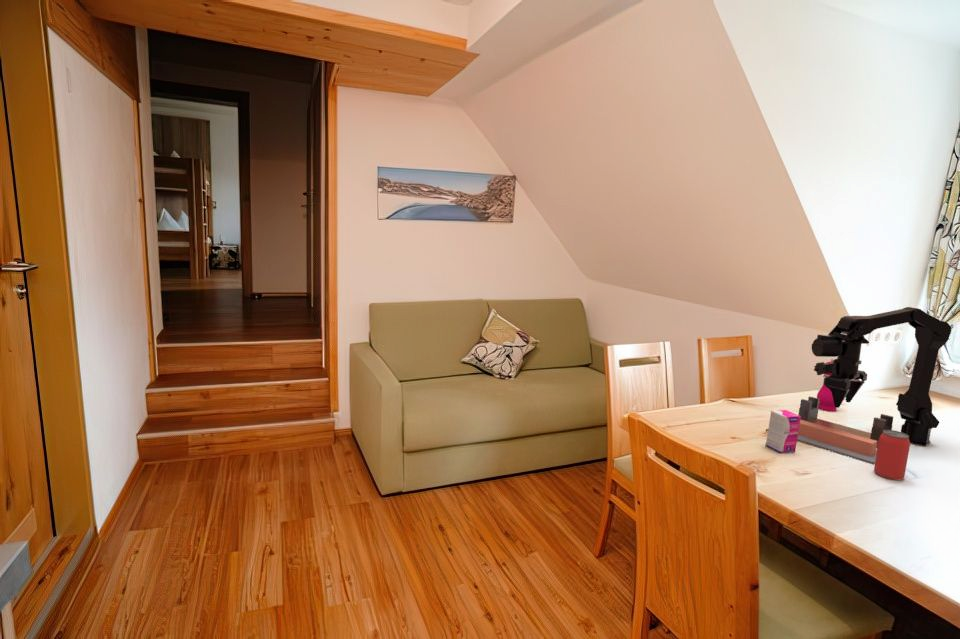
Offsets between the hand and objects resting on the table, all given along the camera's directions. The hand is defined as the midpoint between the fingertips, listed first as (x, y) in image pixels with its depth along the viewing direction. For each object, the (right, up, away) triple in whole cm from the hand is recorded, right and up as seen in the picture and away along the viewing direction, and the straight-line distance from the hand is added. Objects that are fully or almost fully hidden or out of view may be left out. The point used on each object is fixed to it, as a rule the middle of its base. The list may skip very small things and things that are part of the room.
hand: (842, 404), depth 167 cm
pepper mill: (+17, -7, +33) cm, 37 cm away
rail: (-7, -11, -2) cm, 13 cm away
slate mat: (-7, -12, -2) cm, 14 cm away
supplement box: (-25, -12, -9) cm, 29 cm away
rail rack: (+4, -11, +6) cm, 13 cm away
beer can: (-4, -16, -24) cm, 29 cm away
